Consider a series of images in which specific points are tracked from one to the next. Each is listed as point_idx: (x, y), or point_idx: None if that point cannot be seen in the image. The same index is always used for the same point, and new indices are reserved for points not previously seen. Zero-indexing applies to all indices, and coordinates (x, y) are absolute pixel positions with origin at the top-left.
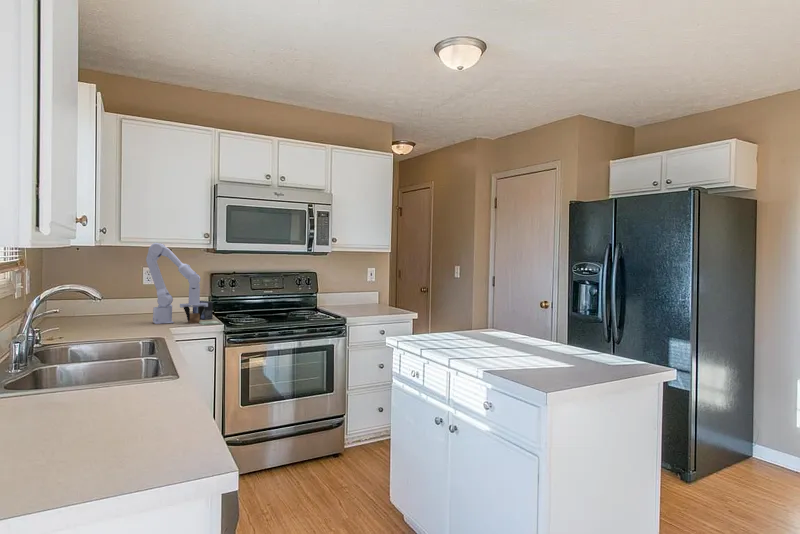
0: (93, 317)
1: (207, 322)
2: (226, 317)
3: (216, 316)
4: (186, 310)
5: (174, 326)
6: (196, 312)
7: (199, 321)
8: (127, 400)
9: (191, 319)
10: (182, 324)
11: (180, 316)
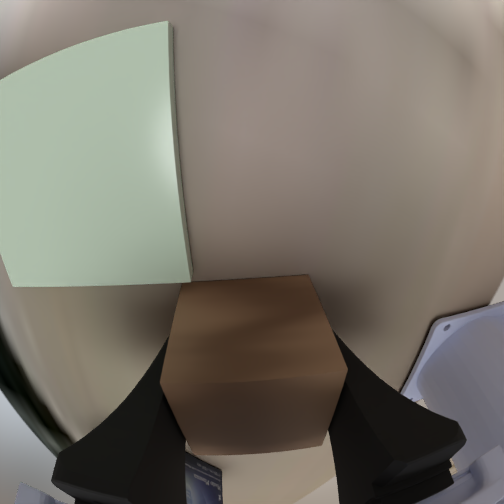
0: None
1: (78, 137)
2: (41, 437)
3: None
4: (435, 417)
5: (496, 84)
6: (198, 497)
7: (180, 293)
8: None
9: (300, 309)
10: (412, 203)
11: (266, 497)
